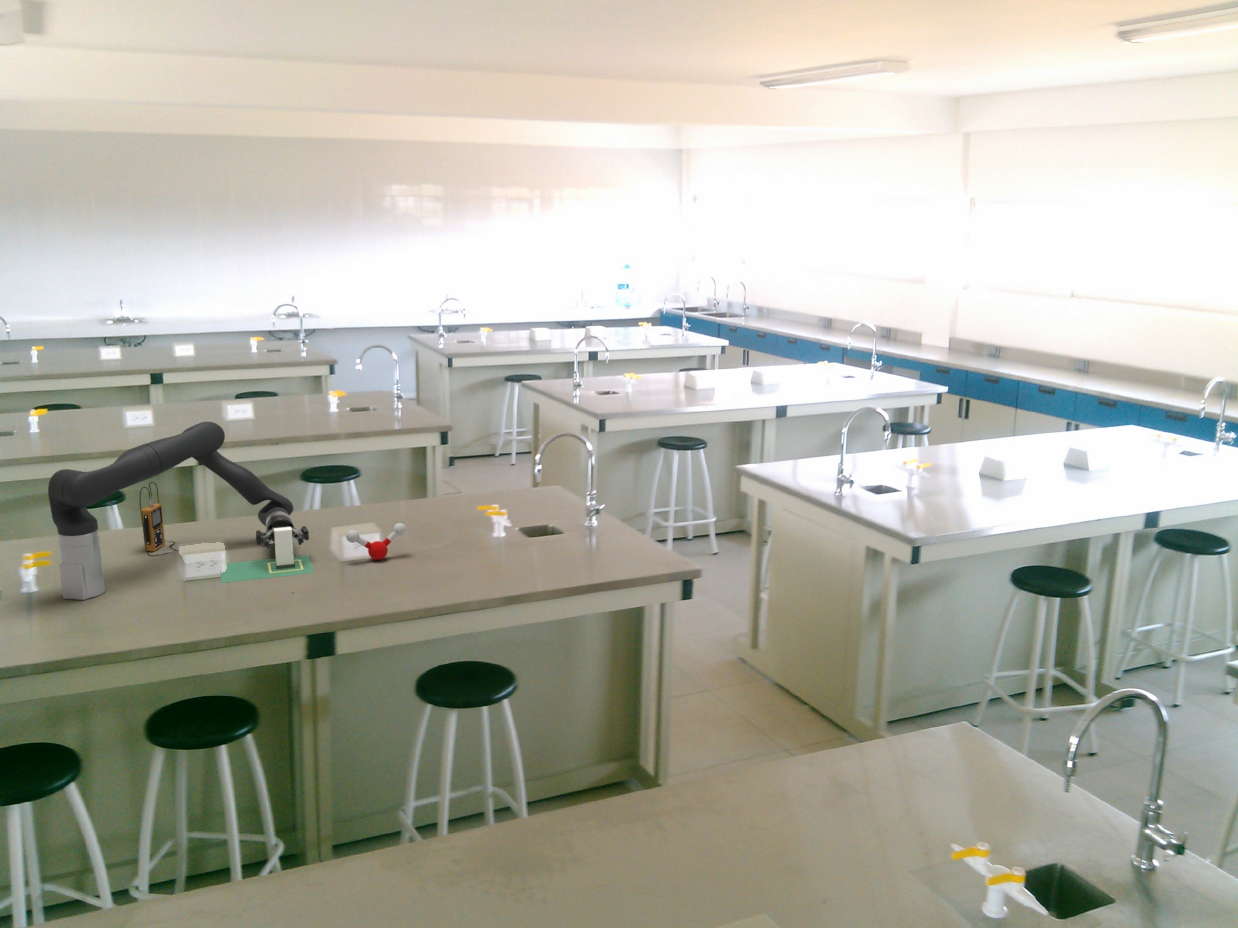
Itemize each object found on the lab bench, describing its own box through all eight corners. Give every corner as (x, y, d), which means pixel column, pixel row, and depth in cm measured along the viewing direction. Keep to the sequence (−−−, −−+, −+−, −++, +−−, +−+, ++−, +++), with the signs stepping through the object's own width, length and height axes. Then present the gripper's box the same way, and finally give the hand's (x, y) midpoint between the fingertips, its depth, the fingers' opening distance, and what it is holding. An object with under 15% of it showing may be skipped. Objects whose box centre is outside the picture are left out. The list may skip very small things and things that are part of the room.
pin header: (295, 567, 280) (294, 555, 280) (276, 569, 279) (275, 557, 278) (294, 563, 283) (293, 551, 283) (275, 565, 282) (274, 553, 281)
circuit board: (221, 588, 268) (221, 582, 267) (220, 569, 282) (219, 563, 282) (314, 577, 277) (314, 572, 276) (308, 559, 291) (308, 554, 291)
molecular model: (404, 552, 299) (403, 520, 297) (410, 557, 295) (409, 525, 292) (345, 561, 291) (344, 528, 288) (350, 566, 286) (349, 533, 284)
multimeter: (172, 557, 292) (166, 491, 287) (138, 556, 292) (132, 490, 287) (194, 541, 306) (189, 478, 301) (162, 540, 306) (156, 477, 301)
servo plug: (293, 563, 280) (291, 529, 278) (276, 565, 279) (274, 531, 276) (293, 560, 283) (290, 526, 281) (275, 562, 281) (273, 528, 279)
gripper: (253, 516, 289) (256, 532, 274) (304, 512, 294) (310, 527, 279) (254, 541, 290) (258, 558, 276) (305, 536, 296) (311, 553, 281)
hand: (284, 542), depth 278 cm, fingers open, 8 cm apart
